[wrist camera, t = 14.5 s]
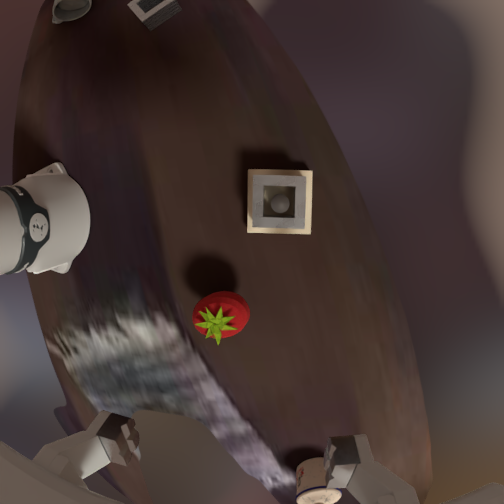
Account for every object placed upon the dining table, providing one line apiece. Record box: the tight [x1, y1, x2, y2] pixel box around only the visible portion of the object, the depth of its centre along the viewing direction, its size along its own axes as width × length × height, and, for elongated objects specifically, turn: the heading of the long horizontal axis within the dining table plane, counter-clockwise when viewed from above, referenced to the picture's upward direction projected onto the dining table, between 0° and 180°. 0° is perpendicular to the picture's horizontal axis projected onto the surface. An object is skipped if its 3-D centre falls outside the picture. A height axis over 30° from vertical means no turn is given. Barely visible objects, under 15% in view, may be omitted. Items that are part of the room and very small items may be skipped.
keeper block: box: [247, 169, 312, 234], centre depth 35 cm, size 8×8×7 cm
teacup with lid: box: [296, 457, 342, 504], centre depth 44 cm, size 12×9×12 cm
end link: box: [252, 175, 306, 229], centre depth 35 cm, size 6×6×4 cm
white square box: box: [127, 0, 182, 31], centre depth 31 cm, size 6×6×4 cm
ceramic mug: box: [52, 0, 92, 24], centre depth 29 cm, size 11×8×8 cm
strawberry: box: [193, 291, 250, 345], centre depth 37 cm, size 6×8×10 cm
